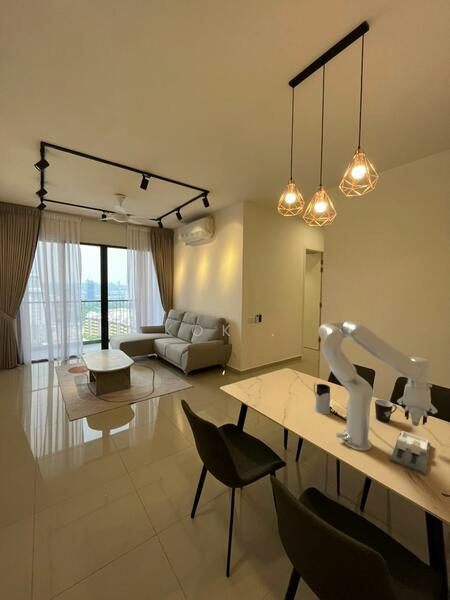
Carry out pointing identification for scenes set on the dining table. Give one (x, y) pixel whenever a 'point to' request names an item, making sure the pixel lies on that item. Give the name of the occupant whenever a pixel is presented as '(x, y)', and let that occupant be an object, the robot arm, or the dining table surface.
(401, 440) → the toggle
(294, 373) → the dining table surface
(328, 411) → the grey black pitcher
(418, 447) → the toggle tagged
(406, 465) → the panel
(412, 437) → the socket tray
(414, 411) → the lightbulb
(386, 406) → the coffee mug
